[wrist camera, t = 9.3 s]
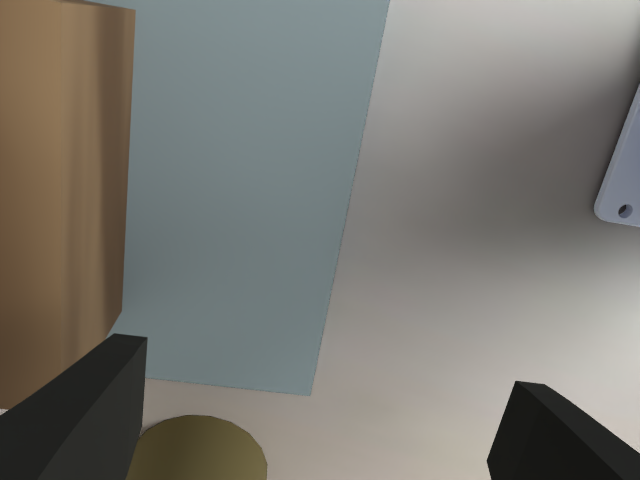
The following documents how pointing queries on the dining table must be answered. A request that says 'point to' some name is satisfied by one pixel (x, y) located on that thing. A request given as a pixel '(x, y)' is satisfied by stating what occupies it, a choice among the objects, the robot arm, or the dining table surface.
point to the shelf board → (241, 181)
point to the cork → (197, 452)
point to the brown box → (61, 183)
